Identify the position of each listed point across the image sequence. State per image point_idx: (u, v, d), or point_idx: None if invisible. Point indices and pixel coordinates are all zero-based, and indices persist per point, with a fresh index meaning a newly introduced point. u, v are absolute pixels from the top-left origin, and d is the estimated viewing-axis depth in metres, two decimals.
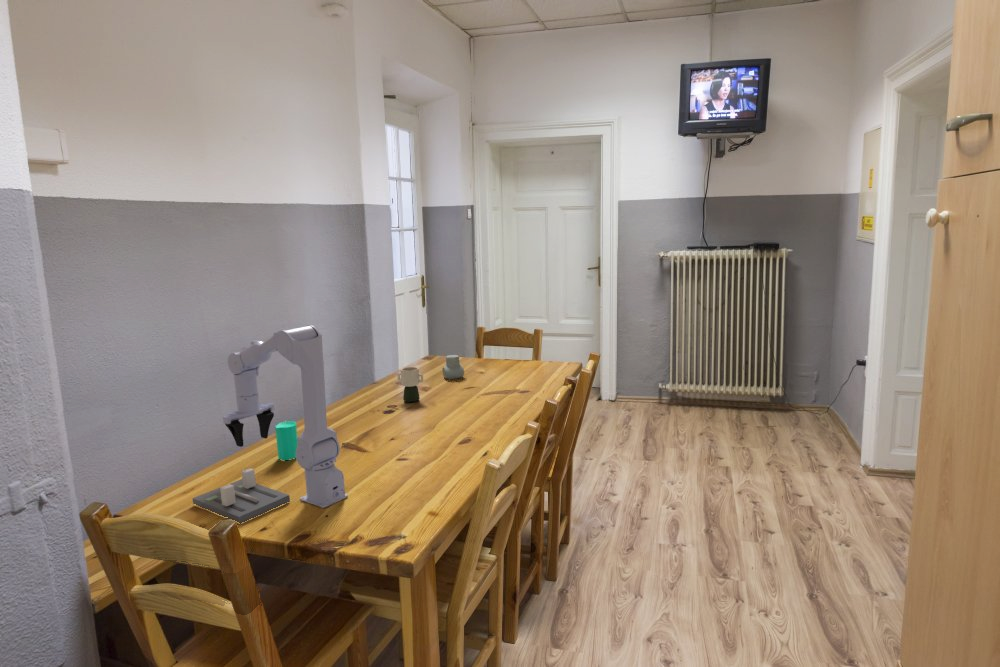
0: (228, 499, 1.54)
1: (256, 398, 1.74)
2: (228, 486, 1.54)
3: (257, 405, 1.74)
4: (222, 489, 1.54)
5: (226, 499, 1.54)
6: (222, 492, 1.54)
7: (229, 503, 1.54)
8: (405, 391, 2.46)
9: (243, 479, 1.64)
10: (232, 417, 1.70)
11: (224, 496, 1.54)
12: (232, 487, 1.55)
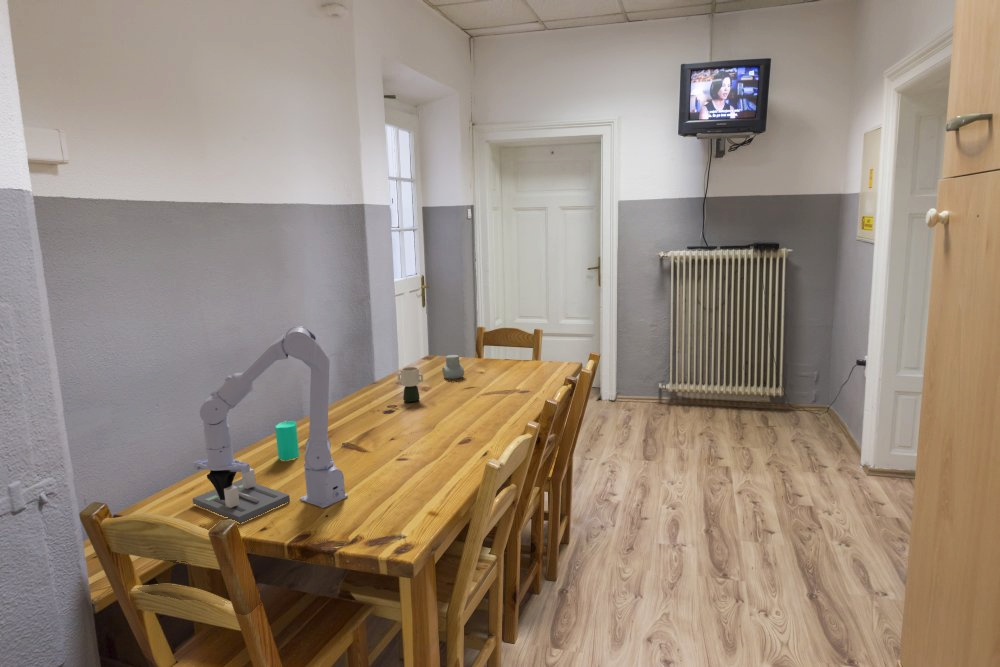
0: (232, 500, 1.53)
1: (215, 453, 1.51)
2: (232, 487, 1.54)
3: (216, 461, 1.51)
4: (226, 490, 1.53)
5: (230, 500, 1.53)
6: (226, 494, 1.53)
7: (233, 504, 1.53)
8: (405, 391, 2.46)
9: (243, 479, 1.64)
10: (197, 464, 1.55)
11: (228, 497, 1.53)
12: (236, 488, 1.54)
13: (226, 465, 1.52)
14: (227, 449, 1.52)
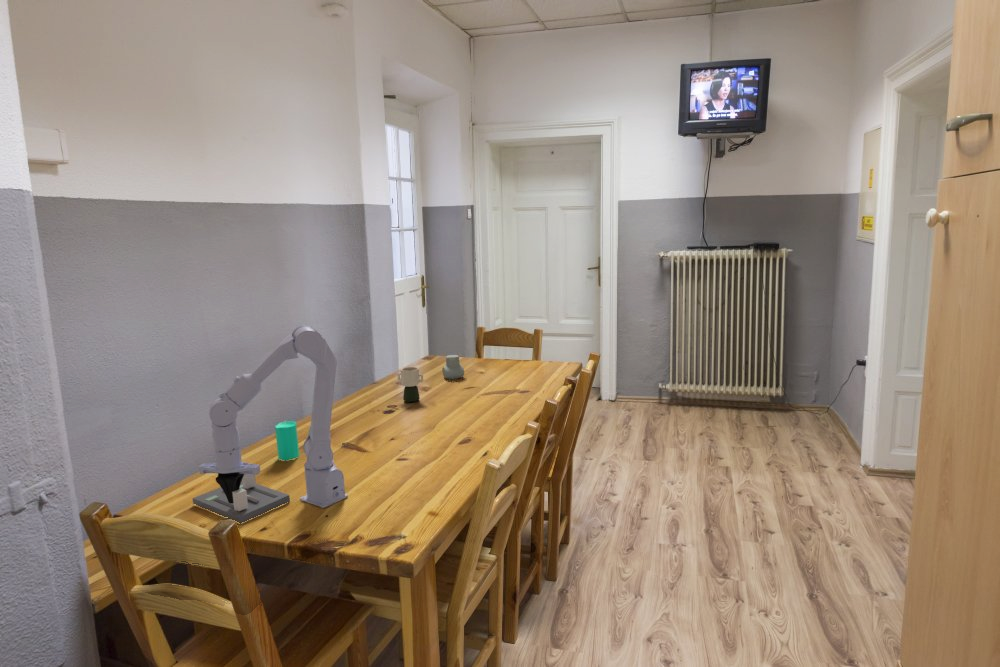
0: (240, 504, 1.51)
1: (225, 456, 1.49)
2: (241, 491, 1.52)
3: (226, 464, 1.49)
4: (234, 494, 1.51)
5: (239, 503, 1.51)
6: (235, 497, 1.51)
7: (241, 508, 1.51)
8: (405, 391, 2.46)
9: (243, 479, 1.64)
10: (204, 468, 1.52)
11: (236, 501, 1.51)
12: (244, 491, 1.52)
13: (236, 467, 1.51)
14: (237, 451, 1.51)
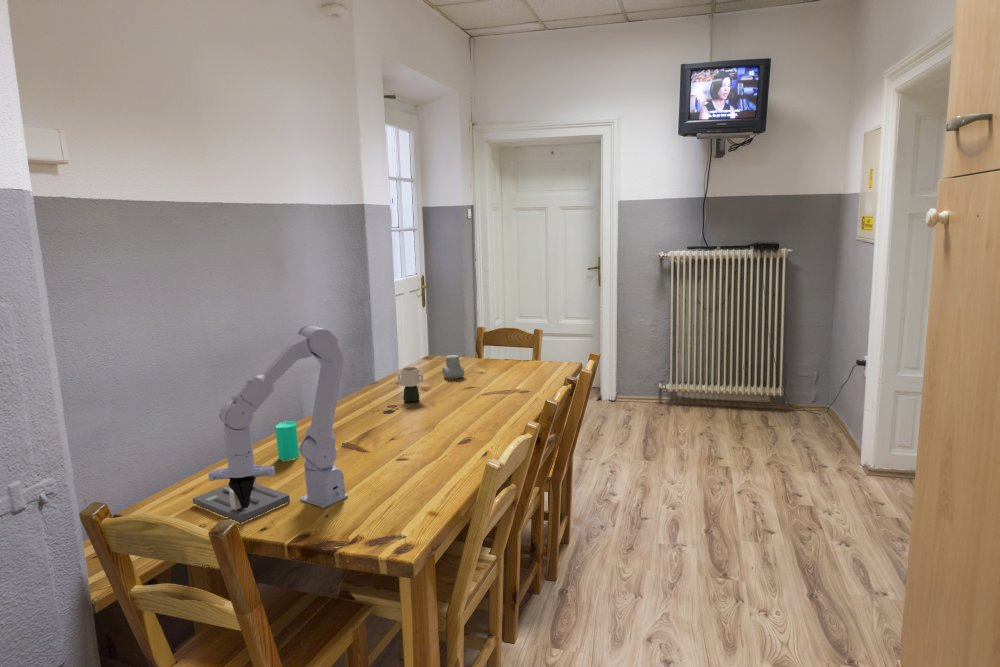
0: (237, 502, 1.52)
1: (240, 459, 1.46)
2: None
3: (242, 468, 1.47)
4: (231, 492, 1.52)
5: (235, 502, 1.51)
6: (231, 495, 1.52)
7: (238, 507, 1.52)
8: (405, 391, 2.46)
9: None
10: (214, 475, 1.48)
11: (233, 499, 1.52)
12: None
13: (251, 470, 1.48)
14: (251, 454, 1.49)
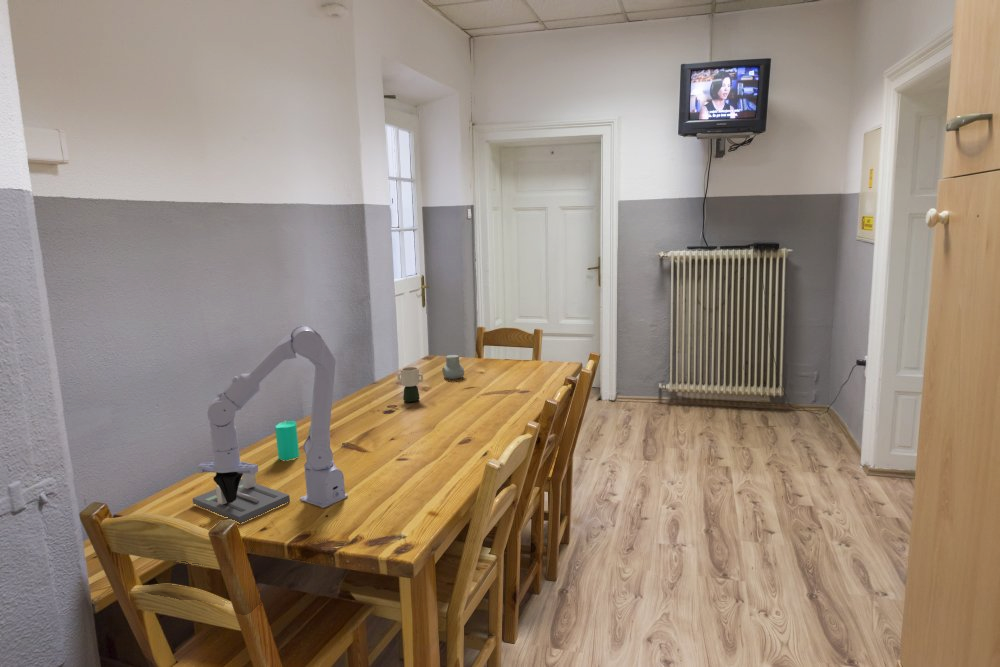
0: (224, 497, 1.55)
1: (223, 455, 1.49)
2: None
3: (224, 463, 1.50)
4: (218, 487, 1.55)
5: (222, 497, 1.55)
6: (218, 490, 1.55)
7: (225, 501, 1.55)
8: (405, 391, 2.46)
9: (243, 479, 1.64)
10: (202, 467, 1.53)
11: (220, 494, 1.55)
12: None
13: (234, 467, 1.51)
14: (235, 451, 1.51)
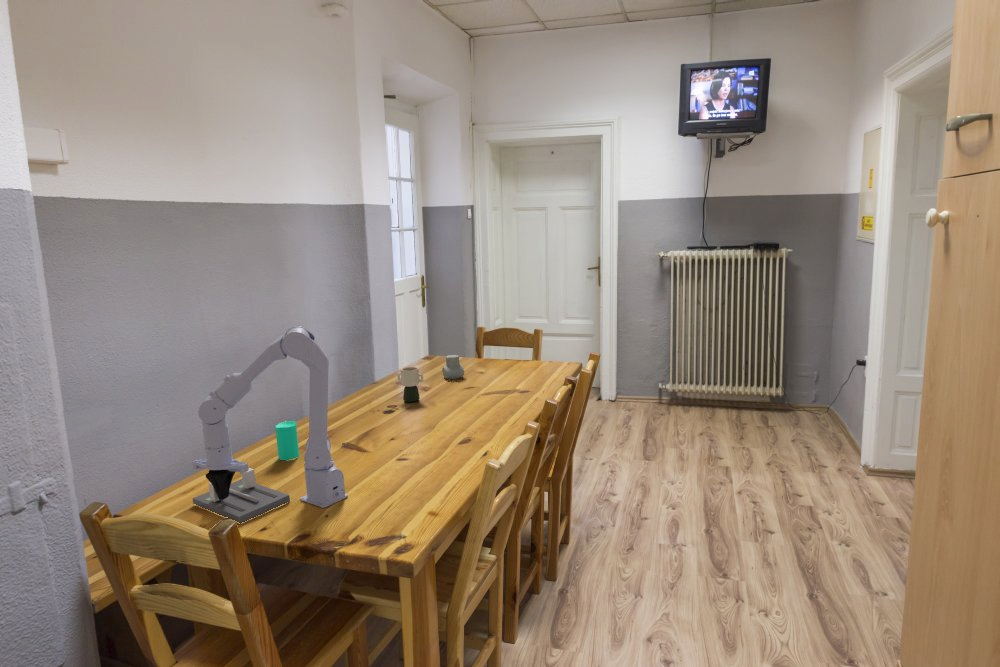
0: (216, 494, 1.57)
1: (213, 453, 1.51)
2: None
3: (215, 461, 1.52)
4: (210, 485, 1.57)
5: (214, 494, 1.56)
6: (211, 488, 1.57)
7: (217, 498, 1.57)
8: (405, 391, 2.46)
9: (243, 479, 1.64)
10: (196, 464, 1.55)
11: (212, 492, 1.56)
12: None
13: (225, 465, 1.53)
14: (226, 449, 1.53)
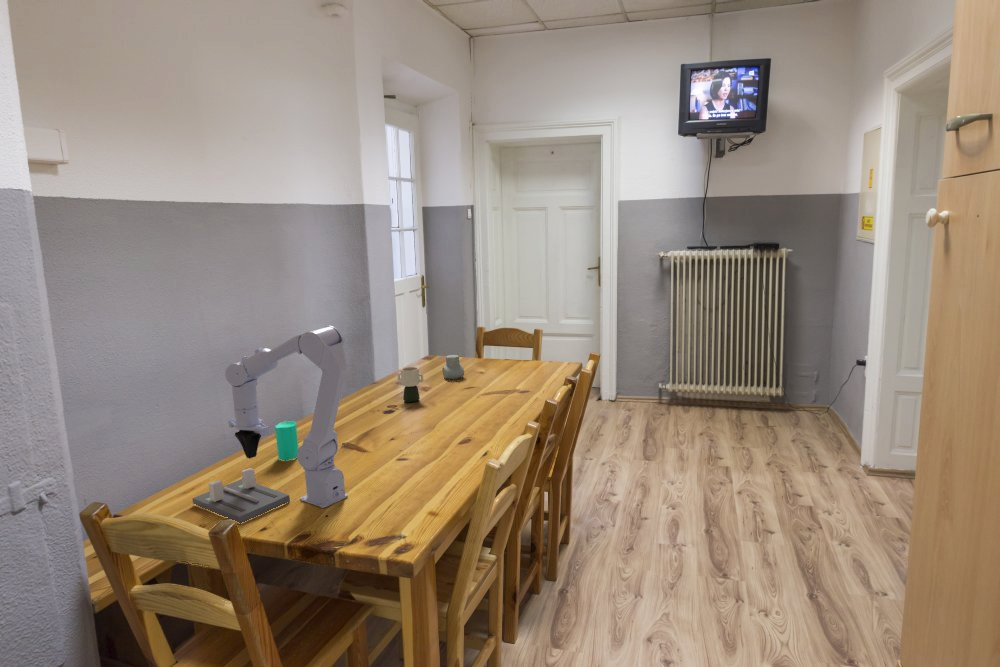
0: (216, 494, 1.57)
1: (239, 414, 1.62)
2: (216, 482, 1.57)
3: (240, 421, 1.62)
4: (210, 485, 1.57)
5: (214, 494, 1.56)
6: (211, 488, 1.57)
7: (217, 498, 1.57)
8: (405, 391, 2.46)
9: (243, 479, 1.64)
10: (230, 422, 1.67)
11: (212, 492, 1.56)
12: (220, 483, 1.57)
13: (249, 426, 1.62)
14: (250, 411, 1.62)
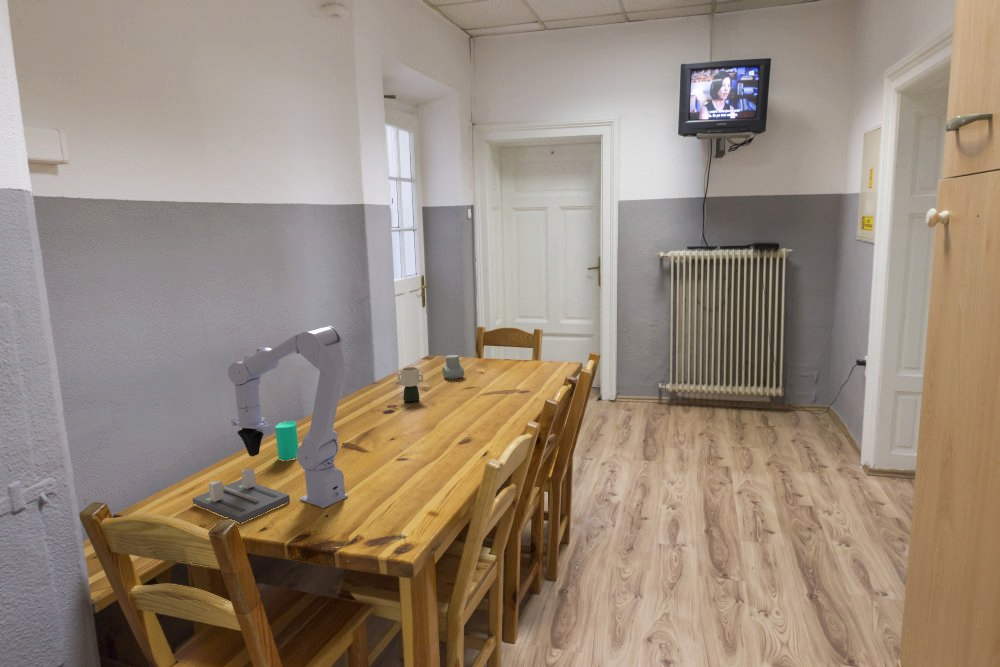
0: (216, 494, 1.57)
1: (242, 412, 1.63)
2: (216, 482, 1.57)
3: (243, 419, 1.64)
4: (210, 485, 1.57)
5: (214, 494, 1.56)
6: (211, 488, 1.57)
7: (217, 498, 1.57)
8: (405, 391, 2.46)
9: (243, 479, 1.64)
10: (233, 420, 1.69)
11: (212, 492, 1.56)
12: (220, 483, 1.57)
13: (251, 424, 1.64)
14: (253, 409, 1.64)
